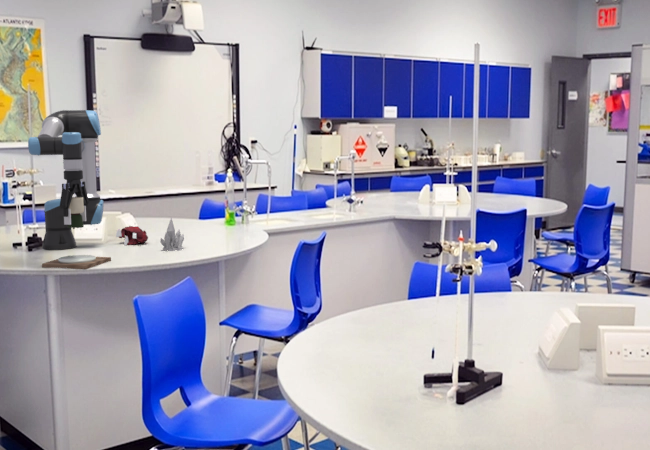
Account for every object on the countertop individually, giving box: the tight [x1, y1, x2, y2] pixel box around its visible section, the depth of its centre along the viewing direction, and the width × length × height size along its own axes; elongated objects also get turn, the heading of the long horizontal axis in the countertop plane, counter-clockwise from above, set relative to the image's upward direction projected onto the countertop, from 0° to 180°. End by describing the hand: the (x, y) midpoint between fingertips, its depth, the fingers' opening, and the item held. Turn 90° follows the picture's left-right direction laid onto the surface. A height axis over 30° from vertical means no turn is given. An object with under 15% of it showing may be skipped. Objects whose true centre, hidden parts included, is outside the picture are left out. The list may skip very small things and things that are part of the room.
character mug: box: [68, 196, 85, 230], centre depth 310 cm, size 11×7×13 cm, turn 163°
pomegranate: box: [115, 225, 149, 246], centre depth 367 cm, size 15×13×9 cm
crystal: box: [159, 217, 185, 252], centre depth 350 cm, size 10×13×15 cm
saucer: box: [57, 254, 97, 264], centre depth 313 cm, size 15×15×1 cm
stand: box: [41, 256, 112, 270], centre depth 313 cm, size 20×20×2 cm
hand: (75, 222), depth 311 cm, fingers closed on character mug, 11 cm apart
